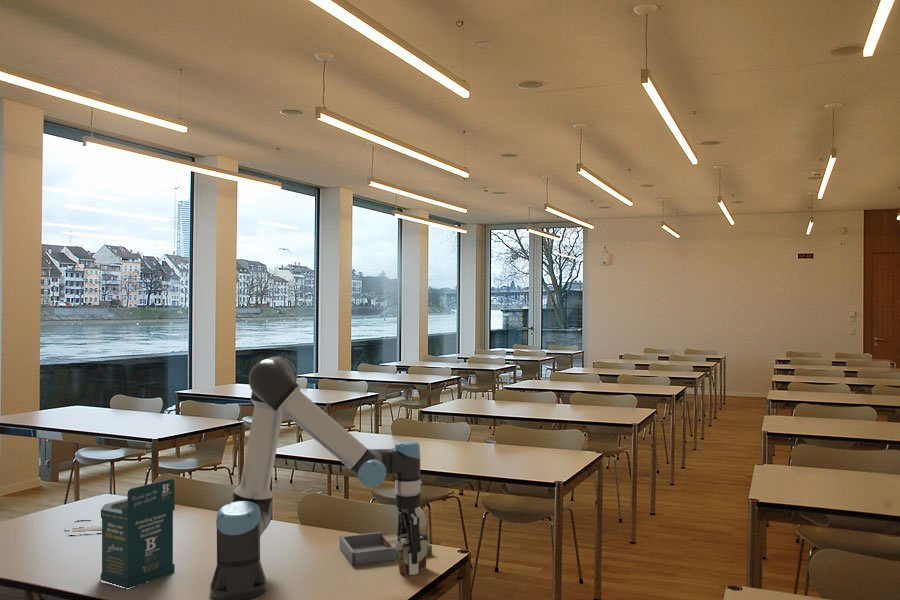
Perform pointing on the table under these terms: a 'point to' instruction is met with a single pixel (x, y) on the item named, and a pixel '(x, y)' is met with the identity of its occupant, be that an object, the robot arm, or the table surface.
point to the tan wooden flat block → (391, 540)
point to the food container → (403, 554)
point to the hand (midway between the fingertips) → (409, 568)
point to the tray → (366, 549)
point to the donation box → (138, 535)
